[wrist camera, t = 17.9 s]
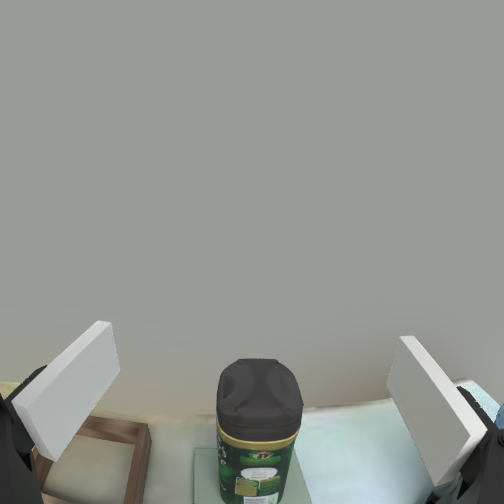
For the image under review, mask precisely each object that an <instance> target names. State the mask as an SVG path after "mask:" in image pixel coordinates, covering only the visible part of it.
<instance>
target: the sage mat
mask: <svg viewBox="0 0 504 504" xmlns="http://www.w3.org/2000/svg"><path fill="white" fill-rule="evenodd" d="M194 504H226V503H225V502H224V501H223V500H222V497H221V493H220V483H219V465H218V450H217V448H195V452H194ZM279 504H312V502H311V499H310V496H309V493H308V490H307V487H306V484H305V481H304V478H303V475H302V472H301V469H300V466H299V463H298V460H297V457H296V454H295V451H294V448H293V452H292V457H291V462H290V466H289V470H288V475H287V480H286V484H285V489H284V493H283V497H282V499H281V501H280V503H279Z"/></svg>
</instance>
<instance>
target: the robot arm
mask: <svg viewBox="0 0 504 504" xmlns="http://www.w3.org/2000/svg"><path fill="white" fill-rule="evenodd" d="M119 372H120V366H119V361H118V356H117V351H116V346H115V341H114V335H113V330H112V324H111V322H104V321H97V322H96V323H95V324H93V325H92V326H91V327H90V328H89V329H88V330H87V331H86V332H85V333H83V334H82V335H81V336H80V337H79V338H78V339H77V340H75V341H74V342H73V343H72V344H71V345H70V346H69V347H68V348H67V349H66V350H65V351H64V352H62V353H61V354H60V355H59V356H58V357H57V358H56V359H55V360H54V361H53V362H51V363H50V364H49V365H48V366H47V365H45V366H43V367H41V368H39V369H37V370H35V371H34V372H33V373H32V374H31V375H30V376H29V378H27V379H26V380H25V381H24V382H23V383H21V384H20V385H19V386H18V387H17V388H16V389H15V390H14V391H13V392H12V393H11V394H10V395H9V396H8V397H7V398H6V399H5V400H3V398H2V396H1V394H0V504H44V502H43V498H42V494H41V490H40V485H39V481H38V476H37V471H36V465H35V459H34V455H33V452H32V451H31V449H32V448H33V447H34V446H36V448H37V450H38V451H39V453H40V454H41V455H42V456H44V457H46V458H48V459H50V460H52V461H54V462H57V460H58V459H59V457H60V456H61V454H62V453H63V451H64V450H65V448H66V447H67V446H68V444H69V443H70V441H71V440H72V438H73V437H74V435H75V434H76V432H77V431H78V430H79V428H80V427H81V425H82V424H83V422H84V421H85V420H86V418H87V417H88V415H89V414H90V413H91V411H92V410H93V408H94V407H95V405H96V404H97V403H98V401H99V400H100V398H101V397H102V396H103V394H104V393H105V391H106V390H107V389H108V387H109V386H110V385H111V383H112V382H113V381H114V379H115V378H116V376H117V375H118V374H119ZM386 386H387V388H388V390H389V392H390V394H391V396H392V398H393V400H394V402H395V404H396V406H397V408H398V410H399V412H400V414H401V416H402V418H403V420H404V422H405V424H406V426H407V428H408V430H409V432H410V434H411V436H412V438H413V440H414V442H415V445H416V447H417V449H418V451H419V453H420V455H421V457H422V460H423V462H424V464H425V466H426V468H427V471H428V473H429V475H430V477H431V479H432V482H433V484H434V486H435V488H433V489H432V490H431V492H430V493H429V494H428V495H427V496H426V497H425V499H424V500H423V501H422V502H421V504H504V404H503V405H502V406H501V407H500V409H499V411H498V413H497V415H496V420H495V422H494V423H493V422H492V420H491V419H490V418H489V416H488V415H487V414H486V413H485V411H484V410H483V409H482V408H480V407H481V406H480V405H479V404H478V402H476V400H475V399H474V397H473V396H472V395H471V394H470V392H468V391H467V390H465V389H464V388H462V387H461V386H459V387H455V386H454V384H453V383H452V382H451V381H450V379H449V378H448V377H447V376H446V374H445V373H444V372H443V371H442V369H441V368H440V367H439V366H438V364H437V363H436V362H435V361H434V360H433V358H432V357H431V356H430V355H429V354H428V352H427V351H426V350H425V349H424V348H423V347H422V345H421V344H420V343H419V342H418V341H417V339H416V338H415V337H414V336H400V337H399V340H398V344H397V348H396V351H395V355H394V359H393V362H392V366H391V369H390V372H389V376H388V379H387V382H386Z"/></svg>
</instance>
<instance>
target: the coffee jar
mask: <svg viewBox="0 0 504 504" xmlns="http://www.w3.org/2000/svg"><path fill="white" fill-rule="evenodd" d="M303 405H304V404H303V401H302V398H301V394H300V390H299V387H298V383H297V381H296V379H295V376H294V375H293V373H292V372H291V371H290V370H289V369H288V368H287V367H285V366H284V365H283V364H281V363H279V362H278V361H277V360H275V359H238V360H237V361H236V362H234V363H233V364H231V365H229V366H228V367H227V368H226V369H224V371H223V372H222V373H221V376H220V380H219V384H218V390H217V406H216V411H217V413H216V415H217V417H216V424H217V450H218V465H219V483H220V493H221V497H222V500H223V501H224V502H225V503H226V504H279V503H280V501H281V499H282V497H283V493H284V489H285V484H286V480H287V475H288V470H289V466H290V462H291V457H292V452H293V448H294V443H295V440H296V437H297V435H298V432H299V429H300V426H301V419H302V409H303Z"/></svg>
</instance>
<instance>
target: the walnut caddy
mask: <svg viewBox="0 0 504 504" xmlns="http://www.w3.org/2000/svg"><path fill="white" fill-rule="evenodd" d="M76 434H79V435H84V436H89V437H94V438H99V439H104V440H110V441H116V442H123V443H130V444H136V445H135V450H134V454H133V459H132V464H131V469H130V474H129V479H128V484H127V489H126V494H125V500H124V504H142V500H143V492H144V485H145V479H146V472H147V466H148V459H149V453H150V447H151V442H152V441H151V437H150V433H149V428H148V424H145V423H136V422H127V421H120V420H113V419H106V418H100V417H94V416H89V415H88V417H87V418H86V420H85V421H84V422H83V424H82V425H81V427H80V428H79V430H78V431H77V432H76ZM33 455H34V459H35V465H36V471H37V476H38V481H39V485H40V490H41V489H42V487H43V484H44V482H45V479H46V477H47V475H48V472H49V470H50V467H51V465H52V463H53V461H52V460H50V459H48V458H46V457H44V456H42V455H41V454H40V453H39V451H38V450H37V448H36V446H35V448H34V450H33ZM41 494H42V498H43V502H44V504H74V503H71V502H68V501H64V500H61V499H58V498H55V497H52V496H49V495H47V494H44V493H41Z"/></svg>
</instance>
